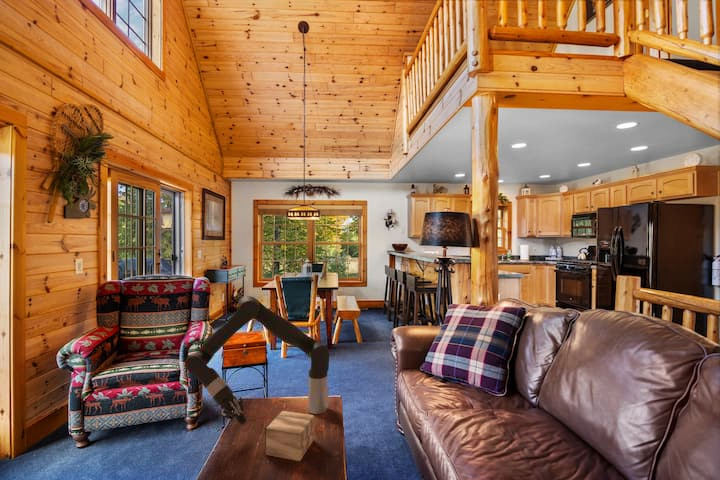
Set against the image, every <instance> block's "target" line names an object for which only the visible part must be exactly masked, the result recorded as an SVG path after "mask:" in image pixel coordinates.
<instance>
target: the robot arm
mask: <svg viewBox="0 0 720 480" xmlns="http://www.w3.org/2000/svg"><path fill="white" fill-rule="evenodd" d="M253 319H254V320H255V321H256V322H258V323H260V324H261V325H262V326H263V327H264V329H266V330H268V332H269V333H270V334H272V336H274V337H275V338H277V339H278V340H280V341H281V342H284V344H287V345H290V346H294V347H295V348H297V349H299V350H301V352H303V353H304V354H305V355H306V356H307V357H309V358H310V361H311V362H310V368H309V370H308V397H307V398H308V403H307V405H308V407H307V411H308V413H311V415H312V414H313V415H320V414H325V412H327V410H328V407H329V389H328V371H329V367H330V351H329V348H328V347H327V346H326V345H325V344H324V343H322V342H321V341H319V340H316V339H314V338H312V337H311V336H309V335H307V334H305V333H304V332H303V331H302V330H301V328H299V327H298V326H296V325H295V324H294V323H292V322H291V321H290V320H288V319H286V318H285V317H282V316H281V315H279V314H277V313H276V312H274V311H272V310H271V309H269V308H268V307H266V306H265V305H264V304H263V303H261V301H259V300H258V299H257V298H256V297H254V296H251V295H245V296H242V297H241V298H240V299H239V300H238V302H237V310H236V311H235V313H234V314H233V316H232V317H230V319H229V320H228V321H227V322H225V323H224V324H223V325H221V326H220V327H219V328H218V329H217V330H215V331H214V332H213V333H212V334H210V336H209V337H208V338H207V339H206V340H205V341H204V342H203V344H202V347H201V349H199V350H198V352H196V353H191V354H190V355H188V356H187V357H186V359H185V361H184V364H185V365H184V366H185V368H186V370H187V371H188V373H190V375H192V376H193V377H194V378H195V379H197V380H198V381H199V382H200V383H201V385H202V386H203V387H204V389H206V391H207V393H208V395H209V396H210V398H212V401H214V402H215V404H216V405H217V406H219V407H220V409H221V413H220V416H221V417H223V418H224V419H225V418H226V419H229V420H231V421H232V420H234V419H236V420H237V422H238V423H239V425H241V426H242V425H244V424H245V423H247V418H246V417H245V415H244V414H243V411H244V410H245V409H244V408H245V407H244V402H243V398H242V397H239V398H237V396H235V395H234V391H233V390H232V389H231V387H230V386H229V385H228V384H227V382H226V381H225V380H224V379H223V378H222V377H221V376H220V374H219V373H218V371H216V370H215V369H214V368H213V367H209V366H208V364H209V363H210V362H211V360H212V359H213V357H214V356H215V354H217V352H218V351H219V350H221V348H222V347H223V346H224V345H225V344H226V343H227V342H228V341H229V340H230V339H231V338H232V337H233V336H234V335H235V334H236V333H237V332H238V331H240V329H242V328H243V327H244V326H245V325H246V324H248V323H249V322H251V321H252V320H253Z"/></svg>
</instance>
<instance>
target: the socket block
mask: <svg viewBox="0 0 720 480" xmlns="http://www.w3.org/2000/svg"><path fill="white" fill-rule="evenodd" d="M314 420H315V414H313V415H312V414H306V413H302V412H301V413H300V412H293V411H287V410H281V411H280V412H279V413H278V414H277V415H276V416H275V417H274V418H273V419H272V420H271V422H269V424H267V425H266V426H265V428H264V435H265V436H264V455H265V456H269V457H270V456H271V457H276V458H279V459H280V458H282V459H287V460H291V461H297V462H300V461H301V460H302V459H303V457H304V455H306V452H307V451H308V450H309V448H310V446H311V445H312V443H313V442H314V438H315V437H314V434H315V431H314V430H315V429H314V428H315V427H314V426H315V421H314Z"/></svg>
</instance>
